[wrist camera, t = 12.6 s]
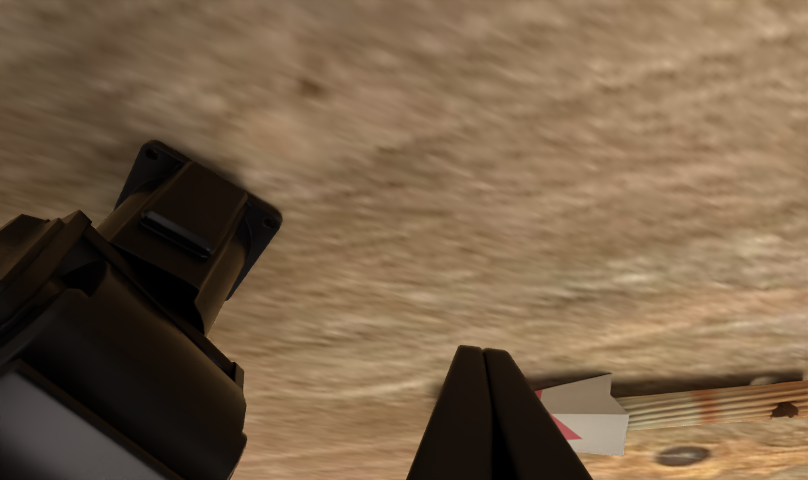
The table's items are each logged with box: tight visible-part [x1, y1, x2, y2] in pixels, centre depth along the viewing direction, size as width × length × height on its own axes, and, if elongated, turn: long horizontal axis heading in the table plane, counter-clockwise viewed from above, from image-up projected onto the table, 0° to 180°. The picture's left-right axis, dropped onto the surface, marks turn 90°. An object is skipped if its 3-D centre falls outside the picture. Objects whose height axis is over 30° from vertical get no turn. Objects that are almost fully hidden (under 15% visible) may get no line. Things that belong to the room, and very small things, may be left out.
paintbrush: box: [534, 374, 808, 456], centre depth 27 cm, size 4×3×20 cm
